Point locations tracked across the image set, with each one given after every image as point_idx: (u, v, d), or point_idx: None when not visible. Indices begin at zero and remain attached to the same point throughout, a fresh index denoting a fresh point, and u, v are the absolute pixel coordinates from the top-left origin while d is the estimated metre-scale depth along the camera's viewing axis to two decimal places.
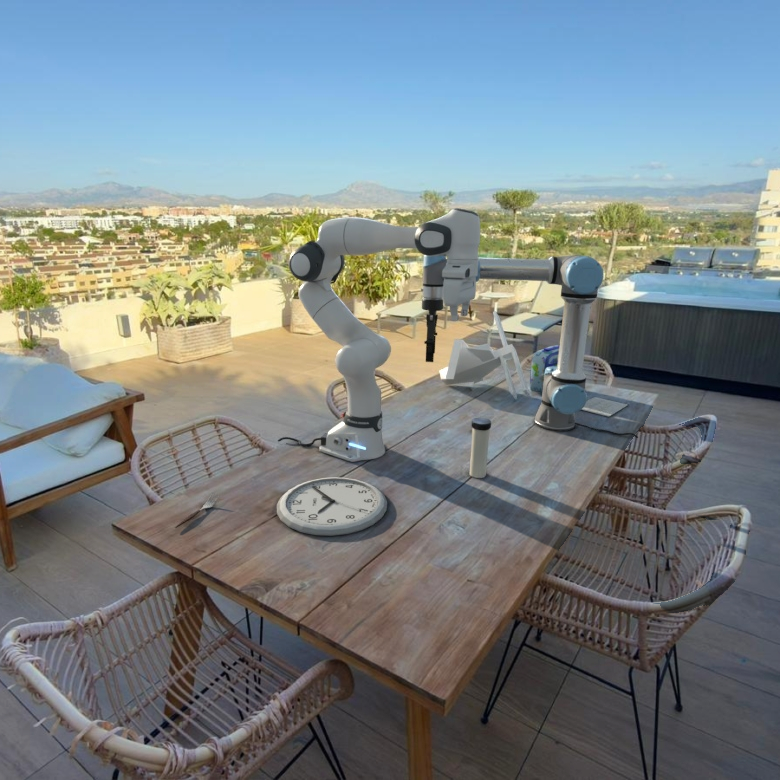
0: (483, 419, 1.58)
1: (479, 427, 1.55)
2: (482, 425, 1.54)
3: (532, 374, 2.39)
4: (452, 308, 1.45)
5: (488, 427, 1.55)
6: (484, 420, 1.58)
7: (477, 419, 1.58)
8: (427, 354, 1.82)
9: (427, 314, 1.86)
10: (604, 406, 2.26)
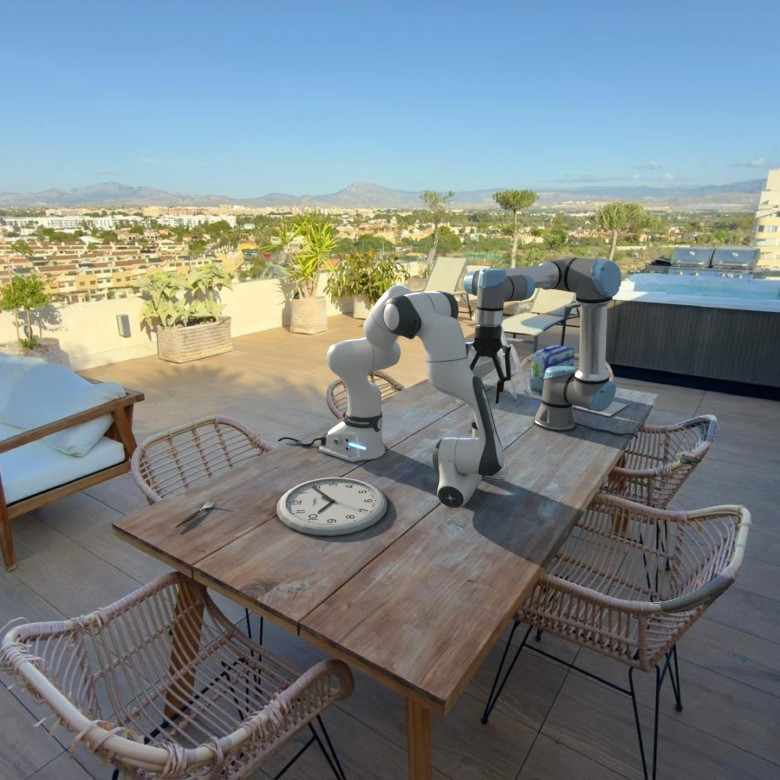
0: None
1: None
2: None
3: (532, 374, 2.39)
4: None
5: None
6: None
7: None
8: None
9: None
10: None
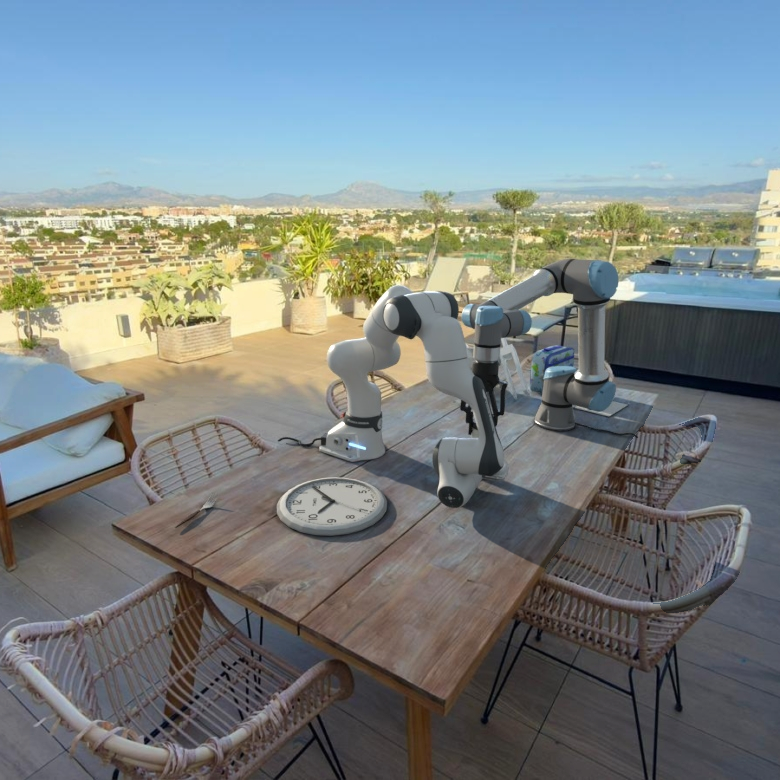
0: None
1: None
2: None
3: (532, 374, 2.39)
4: None
5: None
6: None
7: None
8: None
9: None
10: None
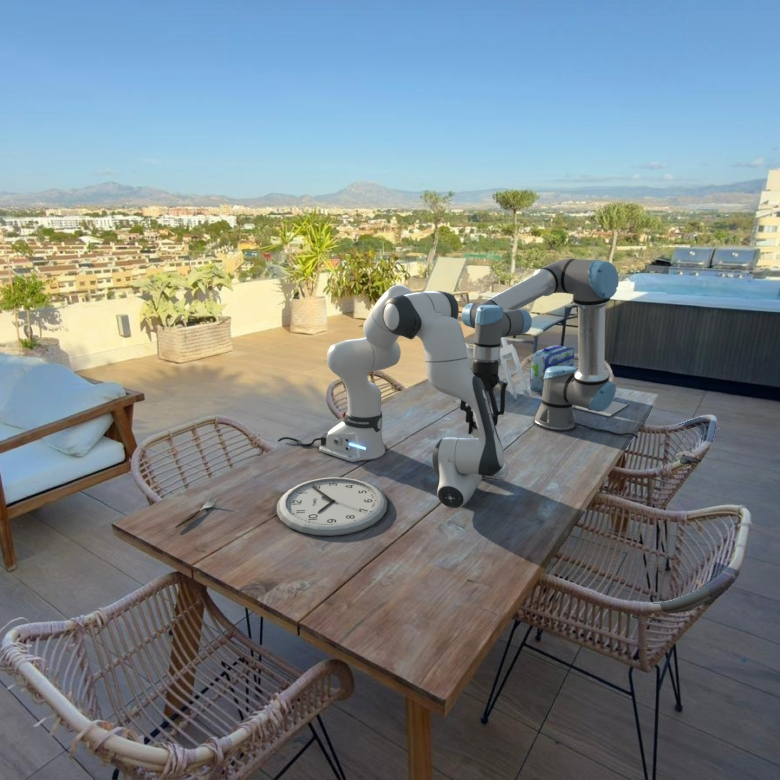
0: None
1: None
2: None
3: (532, 374, 2.39)
4: None
5: None
6: None
7: None
8: None
9: None
10: None
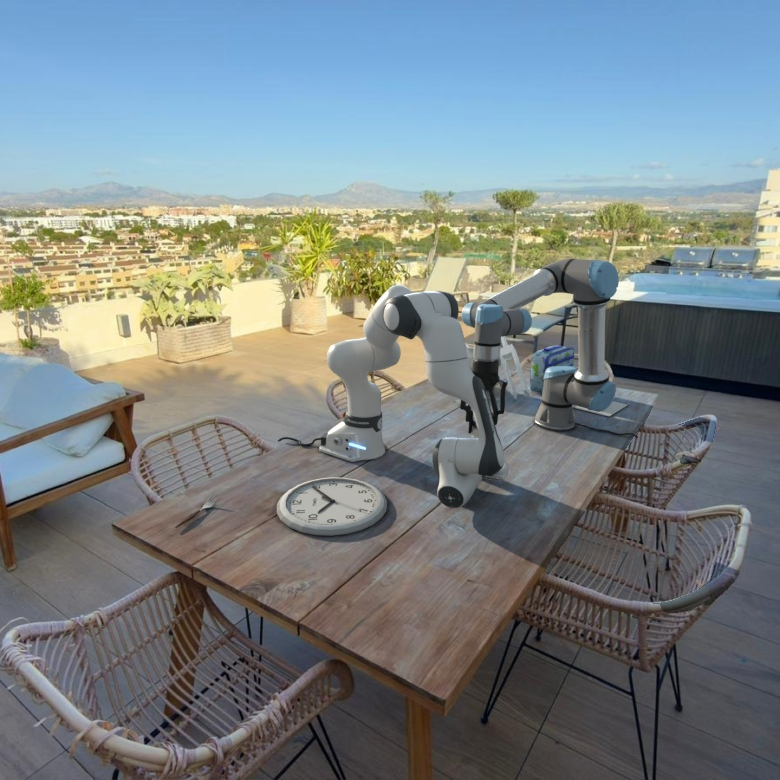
0: None
1: None
2: None
3: (532, 374, 2.39)
4: None
5: (472, 424, 1.56)
6: None
7: None
8: None
9: None
10: None
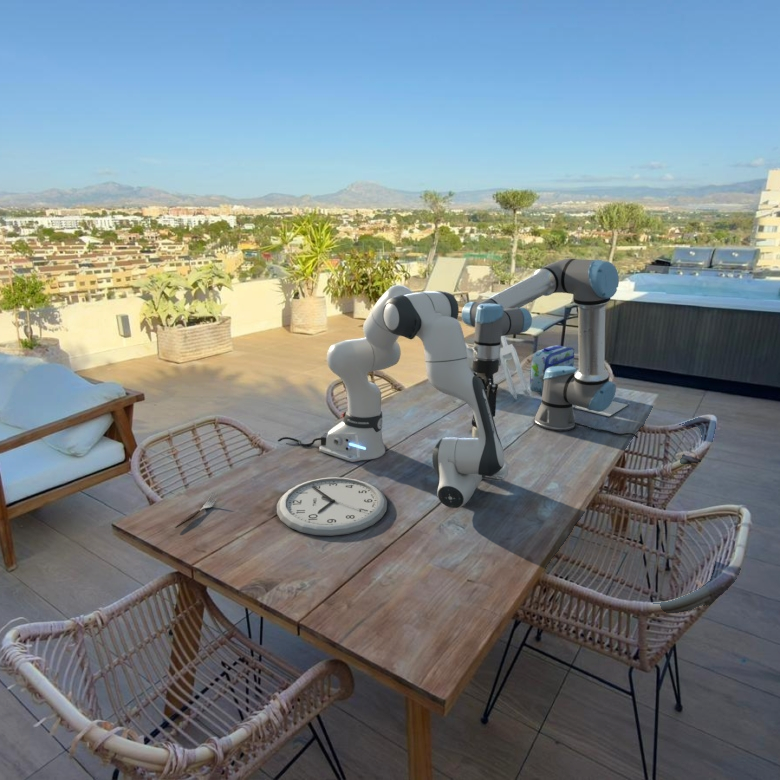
0: None
1: None
2: None
3: (532, 374, 2.39)
4: None
5: None
6: None
7: None
8: None
9: (477, 376, 1.54)
10: None
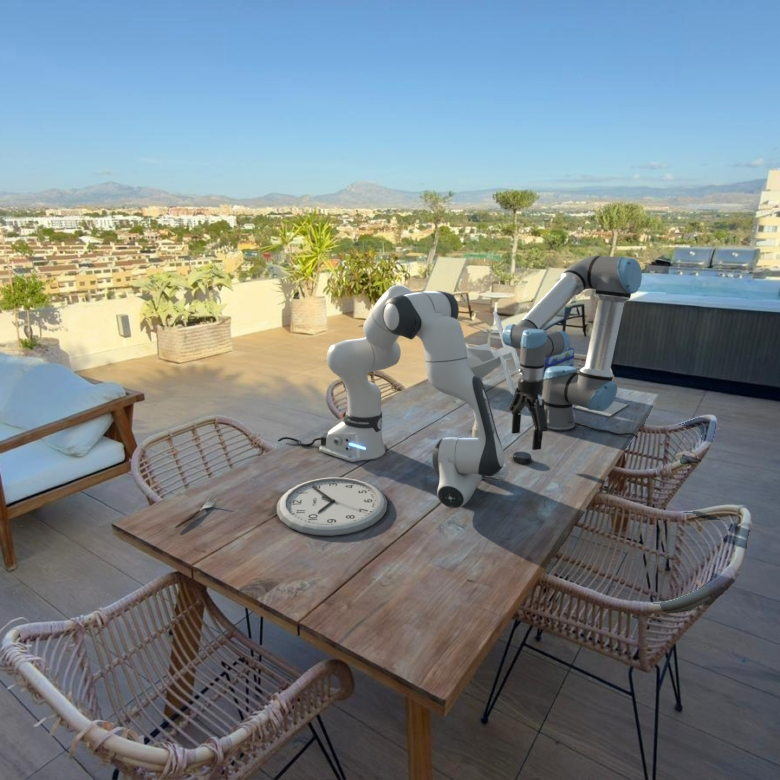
0: (523, 453, 1.73)
1: (521, 461, 1.70)
2: (525, 459, 1.69)
3: None
4: None
5: (529, 460, 1.71)
6: (524, 454, 1.73)
7: (518, 453, 1.73)
8: (535, 442, 1.63)
9: (522, 396, 1.67)
10: None
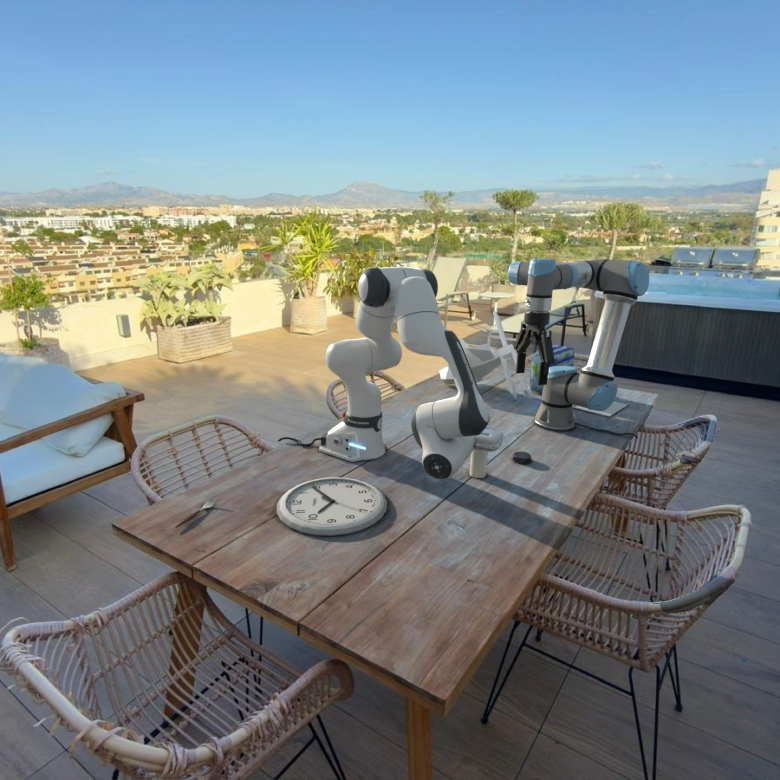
0: (523, 453, 1.73)
1: (521, 461, 1.70)
2: (525, 459, 1.69)
3: (532, 374, 2.39)
4: None
5: (529, 460, 1.71)
6: (524, 454, 1.73)
7: (518, 453, 1.73)
8: (541, 376, 1.57)
9: (528, 329, 1.60)
10: None
